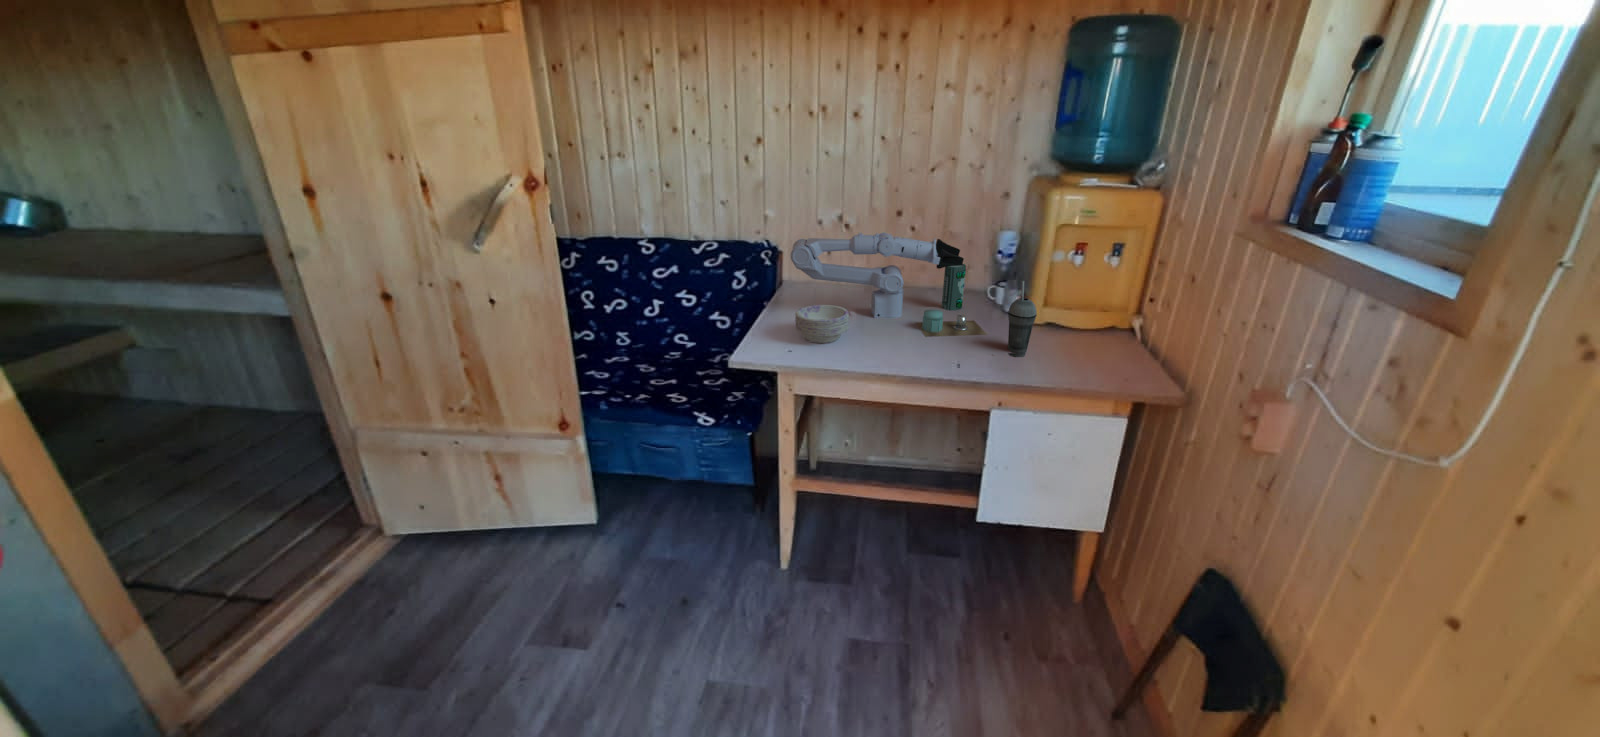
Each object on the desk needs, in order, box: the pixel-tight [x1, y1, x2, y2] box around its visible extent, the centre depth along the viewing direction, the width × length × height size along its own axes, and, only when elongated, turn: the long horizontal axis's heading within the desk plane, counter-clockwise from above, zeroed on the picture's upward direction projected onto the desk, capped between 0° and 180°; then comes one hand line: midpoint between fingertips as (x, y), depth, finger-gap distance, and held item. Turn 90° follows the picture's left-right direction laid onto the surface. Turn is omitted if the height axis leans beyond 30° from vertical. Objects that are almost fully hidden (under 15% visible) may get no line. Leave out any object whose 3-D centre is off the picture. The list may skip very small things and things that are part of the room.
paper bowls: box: [794, 304, 850, 344], centre depth 187 cm, size 15×15×8 cm
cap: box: [922, 309, 944, 332], centre depth 190 cm, size 5×5×5 cm
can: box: [941, 263, 967, 311], centre depth 207 cm, size 6×6×15 cm
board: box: [914, 319, 988, 338], centre depth 192 cm, size 18×12×1 cm, turn 95°
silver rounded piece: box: [953, 314, 968, 331], centre depth 191 cm, size 4×4×4 cm
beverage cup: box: [1007, 280, 1038, 358], centre depth 173 cm, size 7×7×20 cm
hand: (960, 257), depth 195 cm, fingers open, 7 cm apart
